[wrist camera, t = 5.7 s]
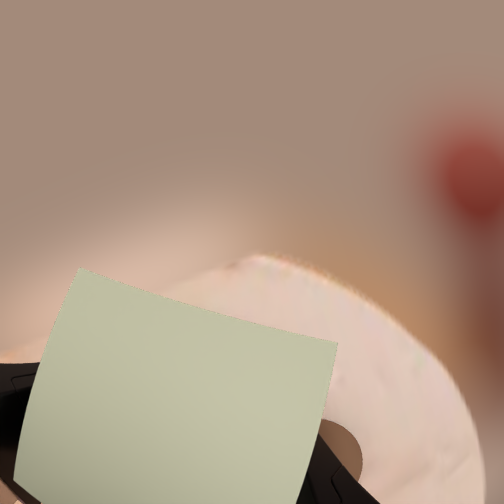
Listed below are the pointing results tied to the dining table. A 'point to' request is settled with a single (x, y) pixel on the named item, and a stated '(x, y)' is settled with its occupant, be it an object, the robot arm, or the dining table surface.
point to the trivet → (342, 446)
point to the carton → (169, 404)
